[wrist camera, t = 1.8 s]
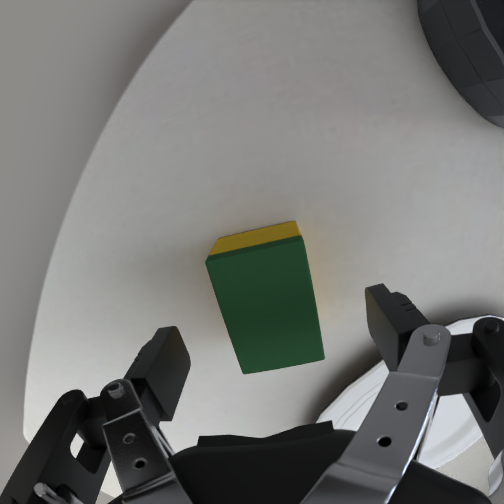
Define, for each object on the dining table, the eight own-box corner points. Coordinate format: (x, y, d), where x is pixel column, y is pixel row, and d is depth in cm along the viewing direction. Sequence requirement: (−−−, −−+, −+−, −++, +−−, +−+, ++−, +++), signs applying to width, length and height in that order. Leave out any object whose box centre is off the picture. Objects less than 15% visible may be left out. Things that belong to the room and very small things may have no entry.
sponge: (217, 238, 15) (204, 261, 12) (295, 220, 15) (303, 239, 11) (247, 335, 17) (242, 374, 14) (315, 322, 16) (325, 359, 13)
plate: (262, 465, 22) (261, 482, 20) (398, 261, 15) (413, 274, 13) (425, 473, 23) (429, 484, 21) (543, 333, 16) (554, 342, 15)
